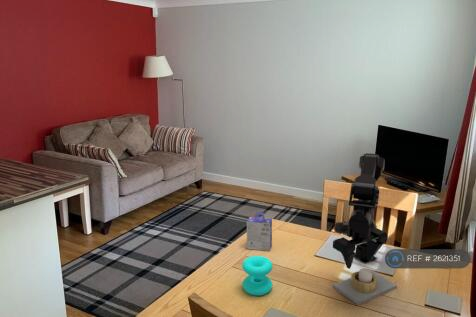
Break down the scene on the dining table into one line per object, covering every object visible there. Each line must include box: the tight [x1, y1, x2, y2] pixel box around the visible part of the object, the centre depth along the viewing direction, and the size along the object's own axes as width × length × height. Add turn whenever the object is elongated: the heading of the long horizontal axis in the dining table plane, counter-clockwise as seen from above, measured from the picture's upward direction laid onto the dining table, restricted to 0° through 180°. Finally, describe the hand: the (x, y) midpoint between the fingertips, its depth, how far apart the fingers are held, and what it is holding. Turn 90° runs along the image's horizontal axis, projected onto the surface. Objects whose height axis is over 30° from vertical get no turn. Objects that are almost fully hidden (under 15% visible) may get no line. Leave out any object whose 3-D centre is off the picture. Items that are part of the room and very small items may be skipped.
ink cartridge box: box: [246, 212, 273, 252], centre depth 154 cm, size 10×6×14 cm, turn 78°
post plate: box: [332, 267, 398, 306], centre depth 126 cm, size 18×11×6 cm, turn 119°
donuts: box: [241, 255, 274, 296], centre depth 126 cm, size 10×10×10 cm
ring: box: [350, 271, 377, 293], centre depth 126 cm, size 8×8×3 cm
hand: (358, 264), depth 123 cm, fingers open, 9 cm apart
